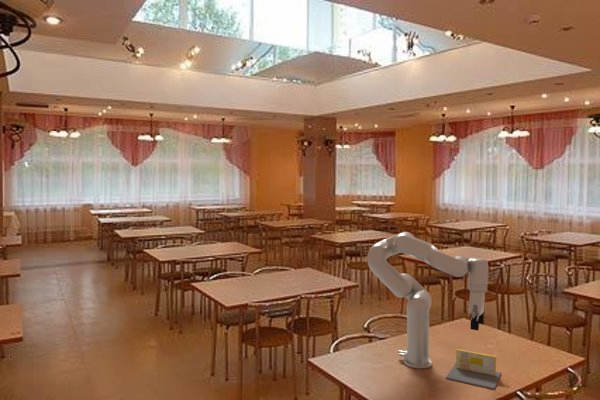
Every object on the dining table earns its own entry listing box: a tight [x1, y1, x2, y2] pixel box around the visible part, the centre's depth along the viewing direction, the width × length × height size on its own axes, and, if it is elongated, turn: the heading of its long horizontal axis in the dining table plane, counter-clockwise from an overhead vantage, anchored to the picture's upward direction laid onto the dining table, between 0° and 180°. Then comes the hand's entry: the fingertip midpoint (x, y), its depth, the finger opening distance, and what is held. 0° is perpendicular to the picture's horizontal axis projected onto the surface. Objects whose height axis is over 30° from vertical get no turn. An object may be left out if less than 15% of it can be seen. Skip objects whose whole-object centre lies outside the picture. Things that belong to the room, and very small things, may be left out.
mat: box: [445, 362, 502, 391], centre depth 198 cm, size 19×17×1 cm
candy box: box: [455, 348, 497, 376], centre depth 201 cm, size 16×2×8 cm, turn 58°
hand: (476, 326), depth 200 cm, fingers open, 9 cm apart
